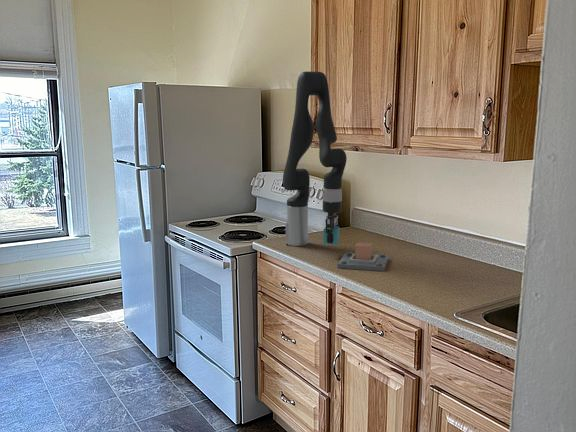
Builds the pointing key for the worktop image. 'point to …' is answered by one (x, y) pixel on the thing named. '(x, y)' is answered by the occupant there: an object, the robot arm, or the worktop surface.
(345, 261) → the plate
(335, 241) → the teal block
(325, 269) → the worktop surface
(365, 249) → the terracotta block
